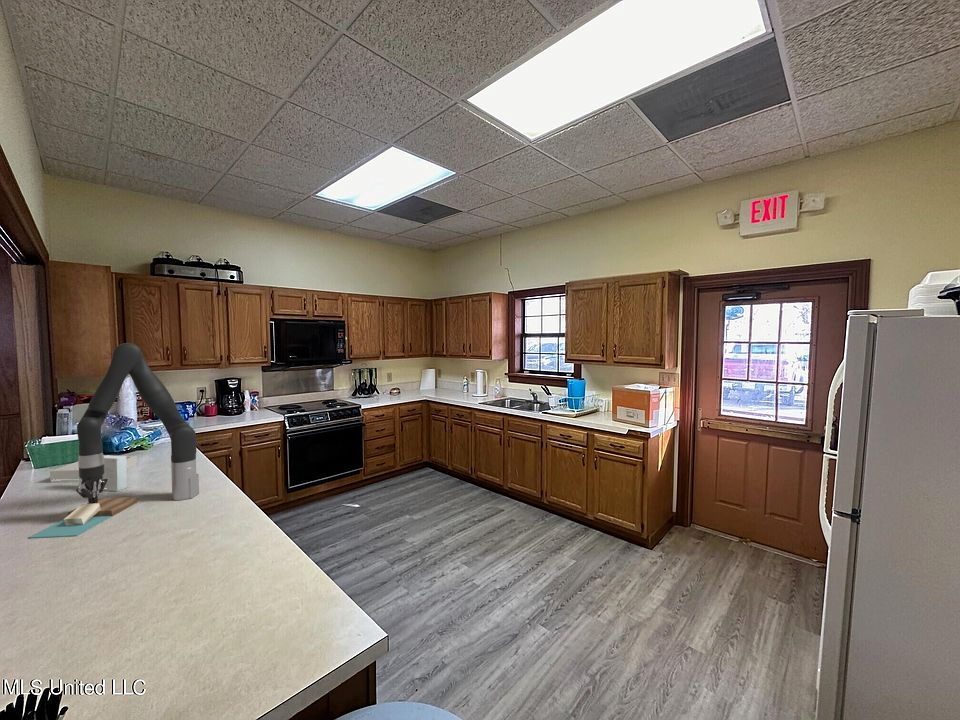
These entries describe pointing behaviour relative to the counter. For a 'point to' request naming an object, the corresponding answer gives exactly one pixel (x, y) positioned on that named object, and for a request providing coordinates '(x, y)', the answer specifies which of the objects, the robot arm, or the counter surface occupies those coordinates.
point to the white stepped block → (72, 472)
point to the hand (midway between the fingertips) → (93, 505)
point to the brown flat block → (112, 505)
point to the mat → (68, 528)
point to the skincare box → (113, 473)
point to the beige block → (82, 514)
